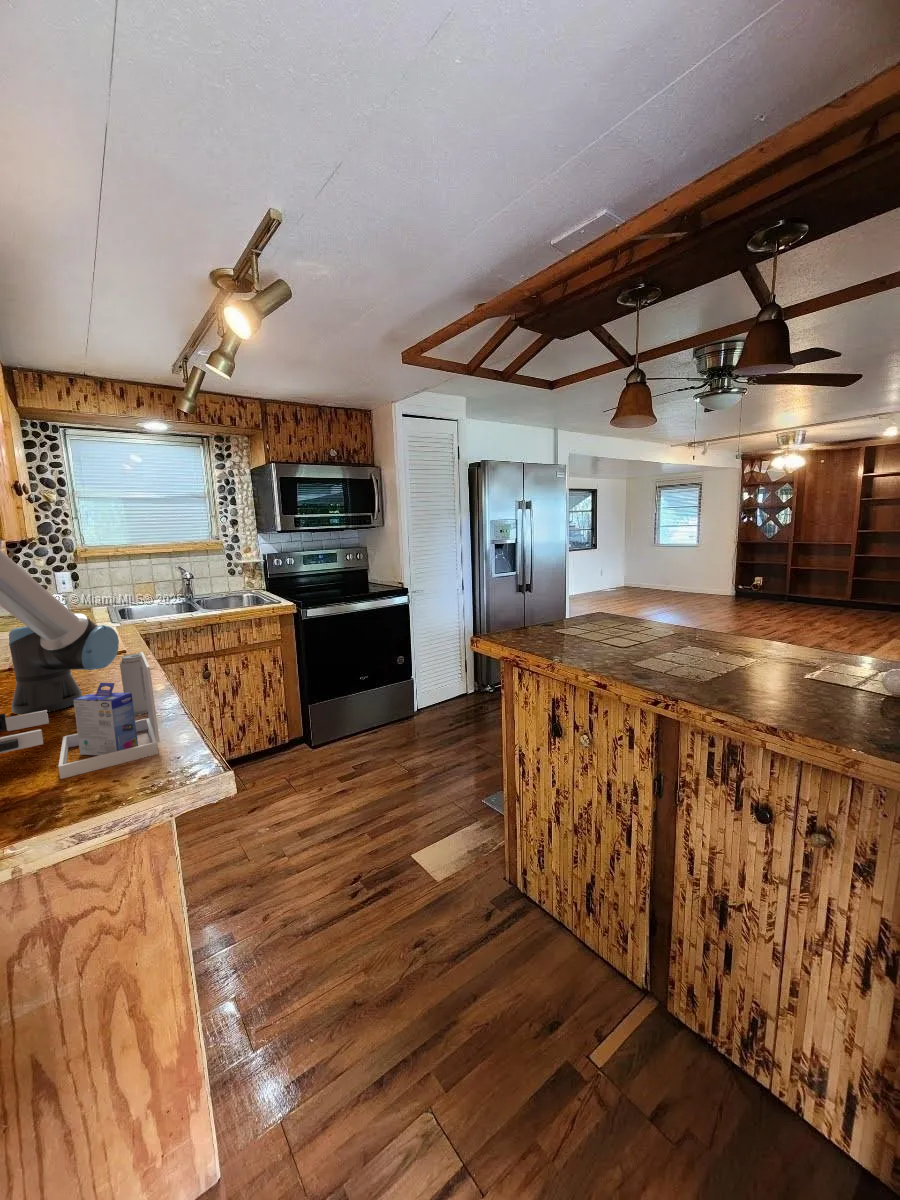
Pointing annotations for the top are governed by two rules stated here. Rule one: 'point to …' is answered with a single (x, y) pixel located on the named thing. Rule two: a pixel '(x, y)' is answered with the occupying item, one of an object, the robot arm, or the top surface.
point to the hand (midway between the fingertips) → (45, 725)
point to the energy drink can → (134, 681)
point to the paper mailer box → (121, 755)
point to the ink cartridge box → (105, 721)
